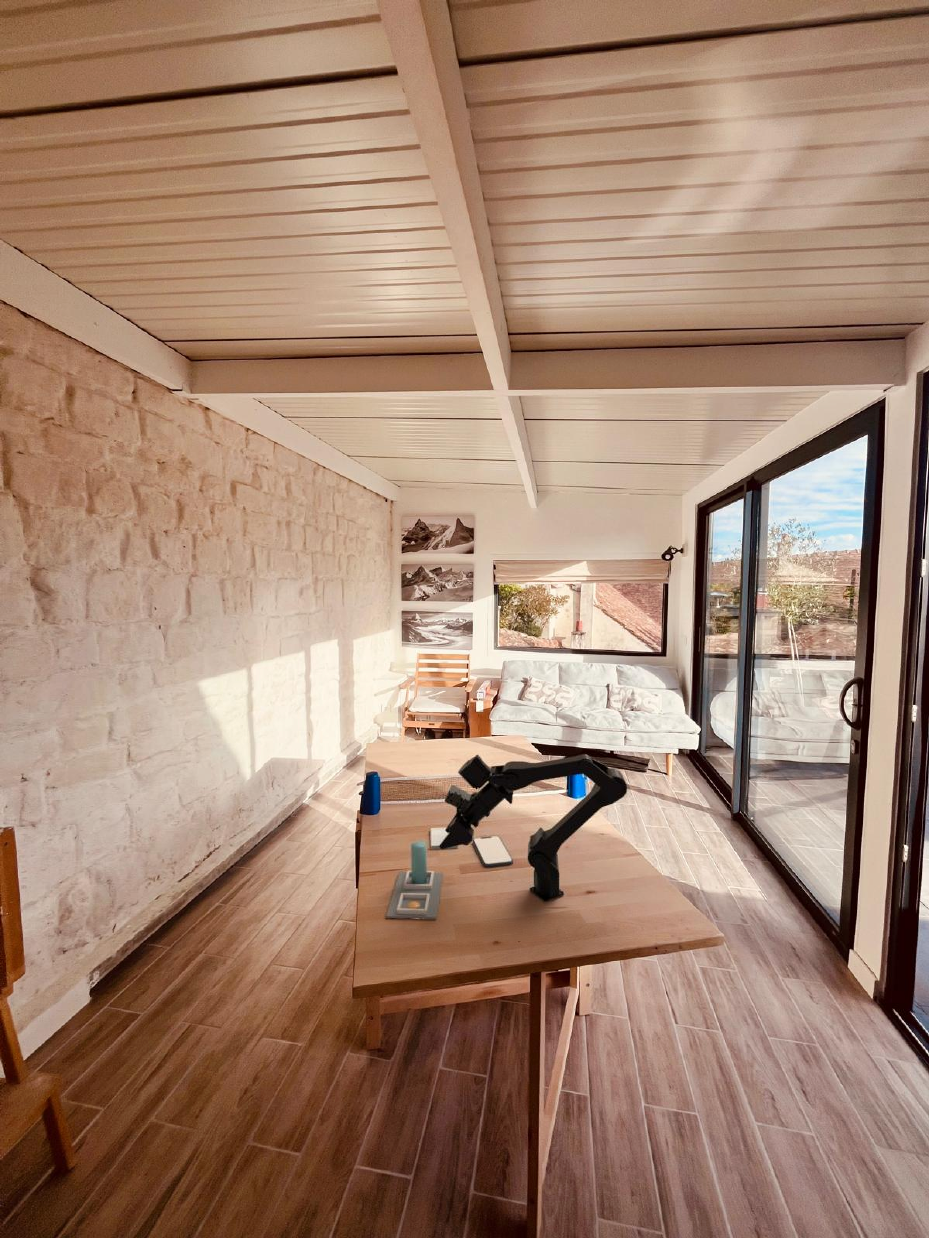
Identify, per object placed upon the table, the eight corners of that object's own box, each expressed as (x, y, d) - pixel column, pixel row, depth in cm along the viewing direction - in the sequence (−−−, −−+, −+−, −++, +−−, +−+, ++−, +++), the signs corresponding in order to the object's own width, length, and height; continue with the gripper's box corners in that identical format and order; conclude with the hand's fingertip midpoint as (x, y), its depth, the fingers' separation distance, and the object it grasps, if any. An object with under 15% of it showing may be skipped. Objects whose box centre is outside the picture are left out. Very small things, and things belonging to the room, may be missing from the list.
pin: (429, 882, 147) (429, 846, 147) (415, 887, 145) (415, 850, 145) (422, 876, 151) (422, 840, 150) (409, 880, 149) (408, 843, 148)
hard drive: (458, 844, 168) (455, 826, 180) (430, 845, 167) (430, 827, 179) (458, 850, 168) (455, 831, 180) (430, 851, 167) (430, 832, 179)
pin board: (399, 874, 153) (399, 868, 153) (443, 875, 152) (443, 869, 152) (386, 918, 133) (386, 911, 133) (436, 919, 132) (436, 913, 132)
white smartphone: (514, 866, 158) (499, 840, 174) (514, 861, 158) (499, 835, 173) (484, 870, 156) (471, 843, 172) (484, 864, 156) (471, 838, 172)
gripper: (468, 765, 154) (429, 802, 156) (458, 791, 135) (414, 832, 137) (496, 795, 153) (456, 831, 155) (490, 824, 135) (445, 865, 137)
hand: (443, 839), depth 146 cm, fingers open, 9 cm apart
